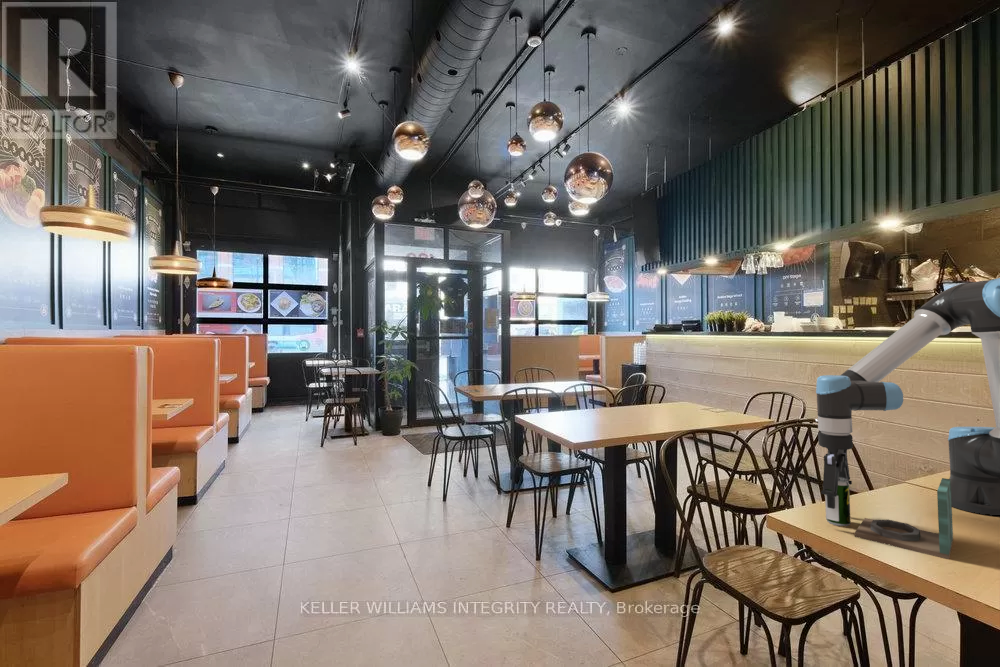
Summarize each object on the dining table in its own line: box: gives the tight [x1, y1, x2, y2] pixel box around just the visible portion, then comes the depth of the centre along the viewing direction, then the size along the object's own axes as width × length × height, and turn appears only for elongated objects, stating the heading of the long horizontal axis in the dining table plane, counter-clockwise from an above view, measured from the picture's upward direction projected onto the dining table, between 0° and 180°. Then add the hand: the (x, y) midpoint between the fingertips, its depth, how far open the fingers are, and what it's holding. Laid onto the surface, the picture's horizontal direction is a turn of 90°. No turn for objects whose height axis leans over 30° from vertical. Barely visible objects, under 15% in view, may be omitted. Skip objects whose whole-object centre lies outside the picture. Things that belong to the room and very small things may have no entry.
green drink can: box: [826, 477, 851, 527], centre depth 123 cm, size 5×5×12 cm
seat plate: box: [854, 477, 954, 560], centre depth 113 cm, size 13×17×15 cm
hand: (837, 513), depth 123 cm, fingers open, 11 cm apart
